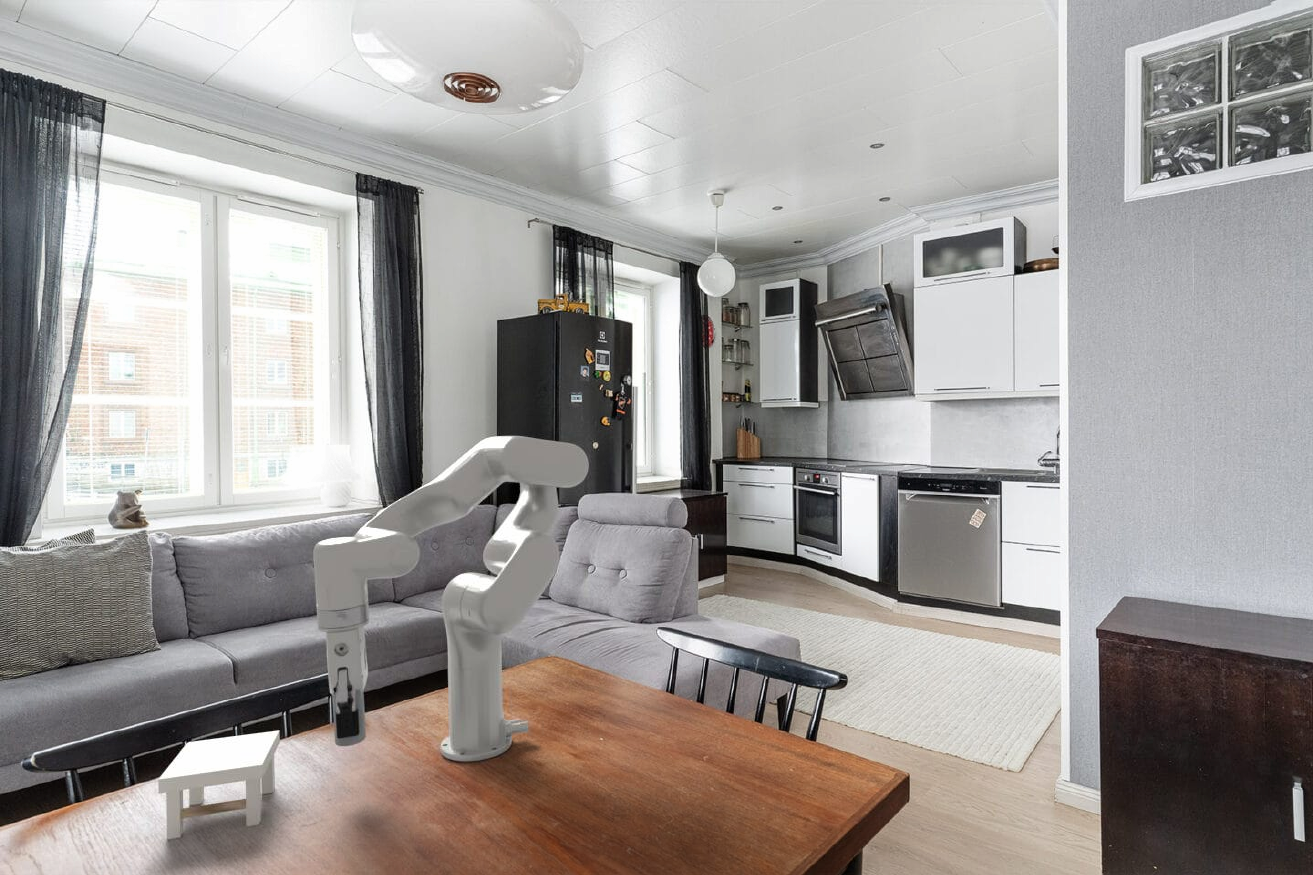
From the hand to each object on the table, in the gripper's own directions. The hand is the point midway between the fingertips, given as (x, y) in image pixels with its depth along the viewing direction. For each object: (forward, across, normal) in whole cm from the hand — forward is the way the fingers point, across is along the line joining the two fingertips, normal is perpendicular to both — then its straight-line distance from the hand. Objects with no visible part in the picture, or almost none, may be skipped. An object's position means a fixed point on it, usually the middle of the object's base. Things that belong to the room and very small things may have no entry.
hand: (350, 728), depth 113 cm
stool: (+10, 0, +18) cm, 21 cm away
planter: (+2, 0, 0) cm, 2 cm away
